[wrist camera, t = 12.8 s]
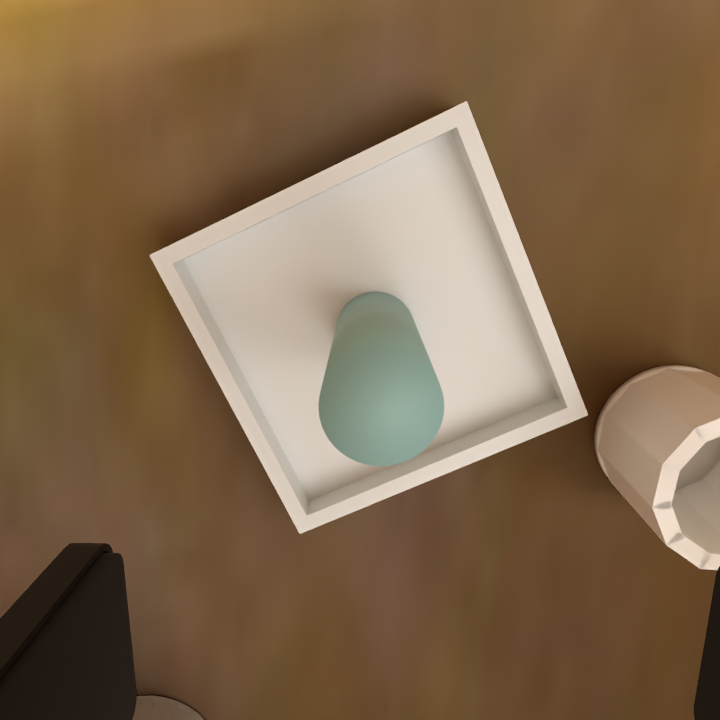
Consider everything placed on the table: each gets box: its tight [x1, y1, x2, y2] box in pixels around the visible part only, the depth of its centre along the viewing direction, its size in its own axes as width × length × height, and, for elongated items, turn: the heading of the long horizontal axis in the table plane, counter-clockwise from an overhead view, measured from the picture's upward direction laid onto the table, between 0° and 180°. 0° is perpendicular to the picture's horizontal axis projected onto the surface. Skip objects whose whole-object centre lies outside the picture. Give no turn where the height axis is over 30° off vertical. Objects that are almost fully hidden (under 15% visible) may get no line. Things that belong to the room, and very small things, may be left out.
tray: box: [149, 101, 588, 534], centre depth 30 cm, size 16×16×2 cm
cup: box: [594, 365, 720, 570], centre depth 30 cm, size 8×8×7 cm
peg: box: [318, 292, 444, 466], centre depth 25 cm, size 4×4×12 cm
